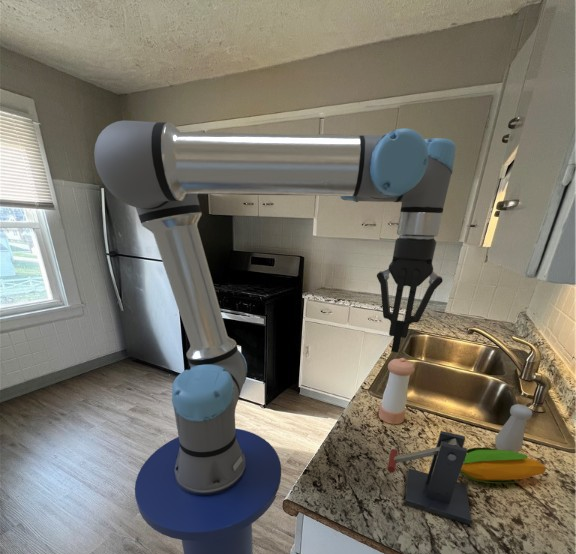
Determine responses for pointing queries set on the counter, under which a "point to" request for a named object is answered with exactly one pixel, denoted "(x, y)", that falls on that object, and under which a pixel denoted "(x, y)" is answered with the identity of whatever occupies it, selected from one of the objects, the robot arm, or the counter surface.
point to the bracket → (441, 483)
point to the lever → (415, 455)
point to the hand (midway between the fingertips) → (395, 349)
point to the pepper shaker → (396, 391)
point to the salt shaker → (513, 429)
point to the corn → (499, 465)
